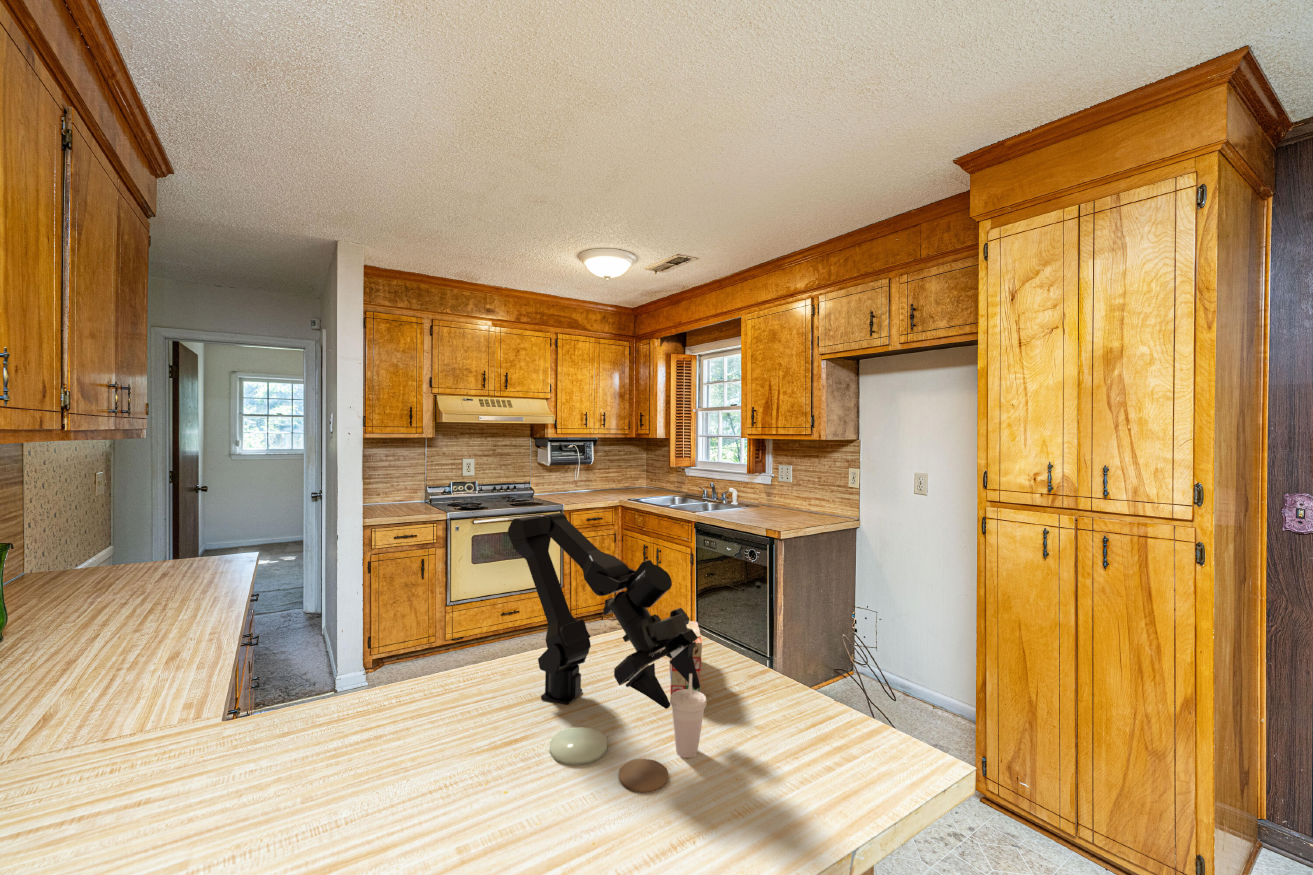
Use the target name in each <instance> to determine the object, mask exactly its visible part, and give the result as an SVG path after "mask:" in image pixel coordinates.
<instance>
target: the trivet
mask: <svg viewBox="0 0 1313 875" xmlns="http://www.w3.org/2000/svg"><path fill="white" fill-rule="evenodd" d="M618 780H619V783H620V784H621V785H622V786H623V788H625V789H627V790H629V791H630V792H633V793H639V794H648V793H654V792H658V791H659V790H661V789H663V788H664V787H665V786H666V785H667V784H668V781H669V770H668V769H667V767H666V766H665V765H664V764H663V763H661V762H659V761H656V760H654V759H650V758H648V759H647V758H637V759H632V760H630V761H628V762H625V763H624V764H622V766H621V767H620V768H619V771H618Z"/></svg>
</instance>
